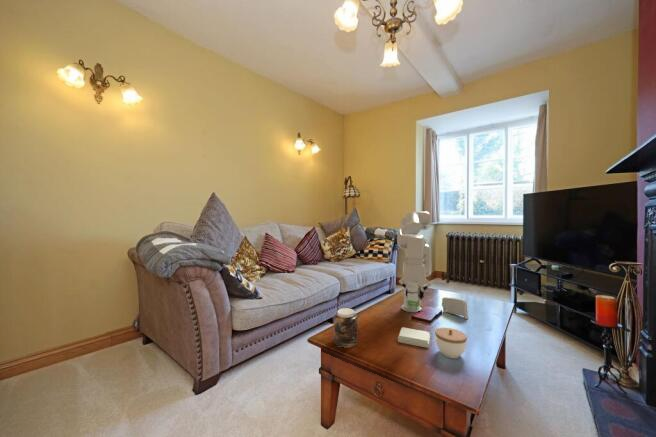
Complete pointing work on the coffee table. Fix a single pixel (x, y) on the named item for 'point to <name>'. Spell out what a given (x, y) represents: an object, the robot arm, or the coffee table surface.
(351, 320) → the jar
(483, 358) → the coffee table surface
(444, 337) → the lidded bowl
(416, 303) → the ink box
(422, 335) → the stand
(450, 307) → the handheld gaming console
